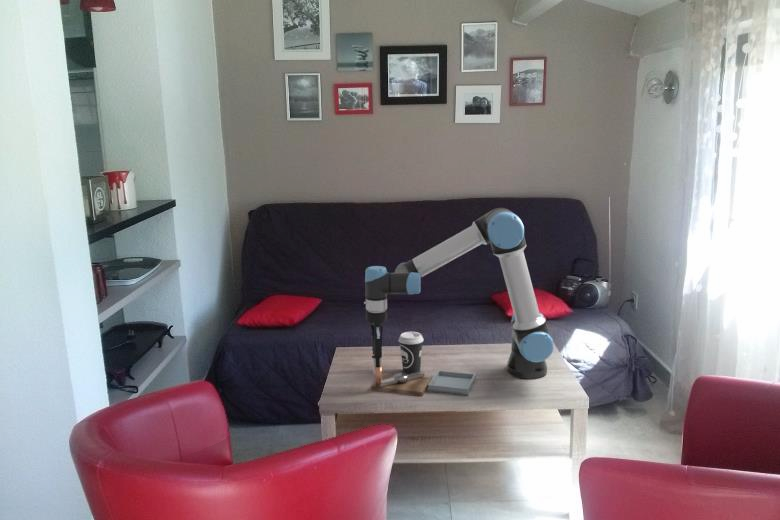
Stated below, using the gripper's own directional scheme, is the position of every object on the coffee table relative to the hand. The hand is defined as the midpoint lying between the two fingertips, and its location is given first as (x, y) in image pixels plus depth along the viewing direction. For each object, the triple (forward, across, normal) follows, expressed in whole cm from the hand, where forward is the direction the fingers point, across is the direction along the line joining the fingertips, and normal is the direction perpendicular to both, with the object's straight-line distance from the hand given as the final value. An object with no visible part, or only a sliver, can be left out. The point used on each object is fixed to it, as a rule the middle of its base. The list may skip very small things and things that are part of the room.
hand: (377, 373), depth 228 cm
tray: (+5, +3, +27) cm, 28 cm away
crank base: (+5, 0, +9) cm, 11 cm away
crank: (+4, -1, +9) cm, 10 cm away
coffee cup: (+5, -12, +14) cm, 20 cm away
